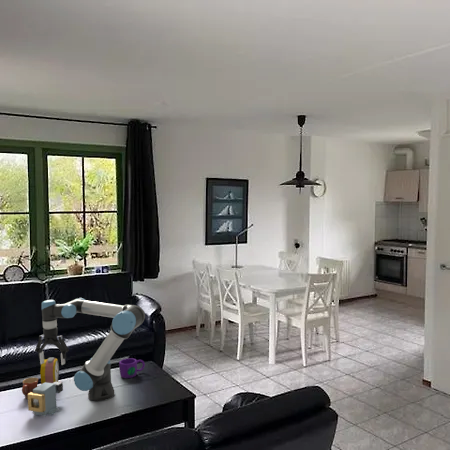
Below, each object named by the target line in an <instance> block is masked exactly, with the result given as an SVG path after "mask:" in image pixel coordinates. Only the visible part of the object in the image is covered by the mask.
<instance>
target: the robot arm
mask: <svg viewBox="0 0 450 450" xmlns="http://www.w3.org/2000/svg"><path fill="white" fill-rule="evenodd" d="M77 313H80V314H87V315H93V316H98V317H99V316H101V317H107V318H112V322H111V325H110V331H109V333H108V334H107V336H106V337H105V338H104V340H103V341H102V343H101V345H100V346H99V347H98V349H97V350H96V352H95V353H94V355H93V356H92V357H91V358H89V360H87V361H85V363H84V365H83V366H82V367H81V369H80V370H78V371H77V372H76V373H75V374H74V376H73V382H74V385H75V387H76V388H77V389H78V390H80V391H82V392H87V391H88V392H87V393H88V394H87V398H88V399H89V400H90V401H91V402H92V401H93V402H104V401H108V400H111V399H112V398H113V397H114V396H115V395H116V394H115V389H114V386H113V383H112V375H111V372H112V371H111V370H112V368H111V367H112V366H111V364H112V363H111V359H112V357H113V356H114V355H115V353H116V351H117V350H118V348H119V347H120V346H121V344H122V343H123V342H124V340H127V339H128V338H129V337H130V336H131V334H132V333H133V332H134V331H135V329H136V328H138V327H140V326H141V325H142V324H143V323H144V321H145V318H146V317H145V316H146V314H145V311H144V310H143V308H142V307H140V306H138V305H135V304H124V305H121V304H114V303H106V302H99V301H91V300H86V299H85V298H82V297H79V298H78V297H77V298H75V299H72V300H71V301H68V302H66V303H61V304H60V303H56V301H55V300H54V299H47V300H44V301H42V302H41V316H42V328H43V329H42V331H43V334H41V335H39V336H38V341H37V343H36V347H35V349H34V352H37V353H38V359H39V361H40V362H39V364H40V365H41V364H43V363H44V359H45V355H44V353H45V352H44V351H43V350H44V349H45V348H46V346H47V345H55V346H56V348H57V349H58V350H59V351H60V352H61V353H60V360H61V361H60V362H61V363H60V364H61V366H63V365H65V364H66V358H67V352H69V351H70V349H69V348H68V346H67V344H66V342H65V340H64V337H63V335H58V327H57V326H58V323H57V321H58V318H59V319H72V318H74V317H75V315H77ZM129 339H130V338H129Z"/></svg>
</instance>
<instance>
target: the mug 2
mask: <svg viewBox="0 0 450 450" xmlns="http://www.w3.org/2000/svg"><path fill="white" fill-rule="evenodd" d="M118 363H119V364H118V365H119V366H118V367H119V374H120V377H121V378H122V379H132V378H134V377H136V376H137V373H138V372H141V371H143V370H144V369H145V367H146V364H145V361H144V360H143V359H136V358H132V357H131V358H130V357H129V358H123V359H121V360H119V361H118ZM138 363H141V364H142V366H141V367H140V368H139V369H138Z"/></svg>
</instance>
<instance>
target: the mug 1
mask: <svg viewBox="0 0 450 450" xmlns="http://www.w3.org/2000/svg"><path fill="white" fill-rule="evenodd" d="M38 382H39V377H28V378H25V379H24V380H22V388H21V392H22V395H23V396H24V398H25V399H26V400H28V394H29V393H31V392H32V393H33V389H35V388H36V387H38Z"/></svg>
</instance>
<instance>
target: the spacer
mask: <svg viewBox="0 0 450 450" xmlns="http://www.w3.org/2000/svg"><path fill="white" fill-rule="evenodd" d="M33 399H39V406H36V405H34V403H33ZM27 407H28V408H27V410H28V411H29V412H33V411H36V412H44V411H45V410H46V408H45V394H40V393H32V392H31V393H29V394H28V399H27Z"/></svg>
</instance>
